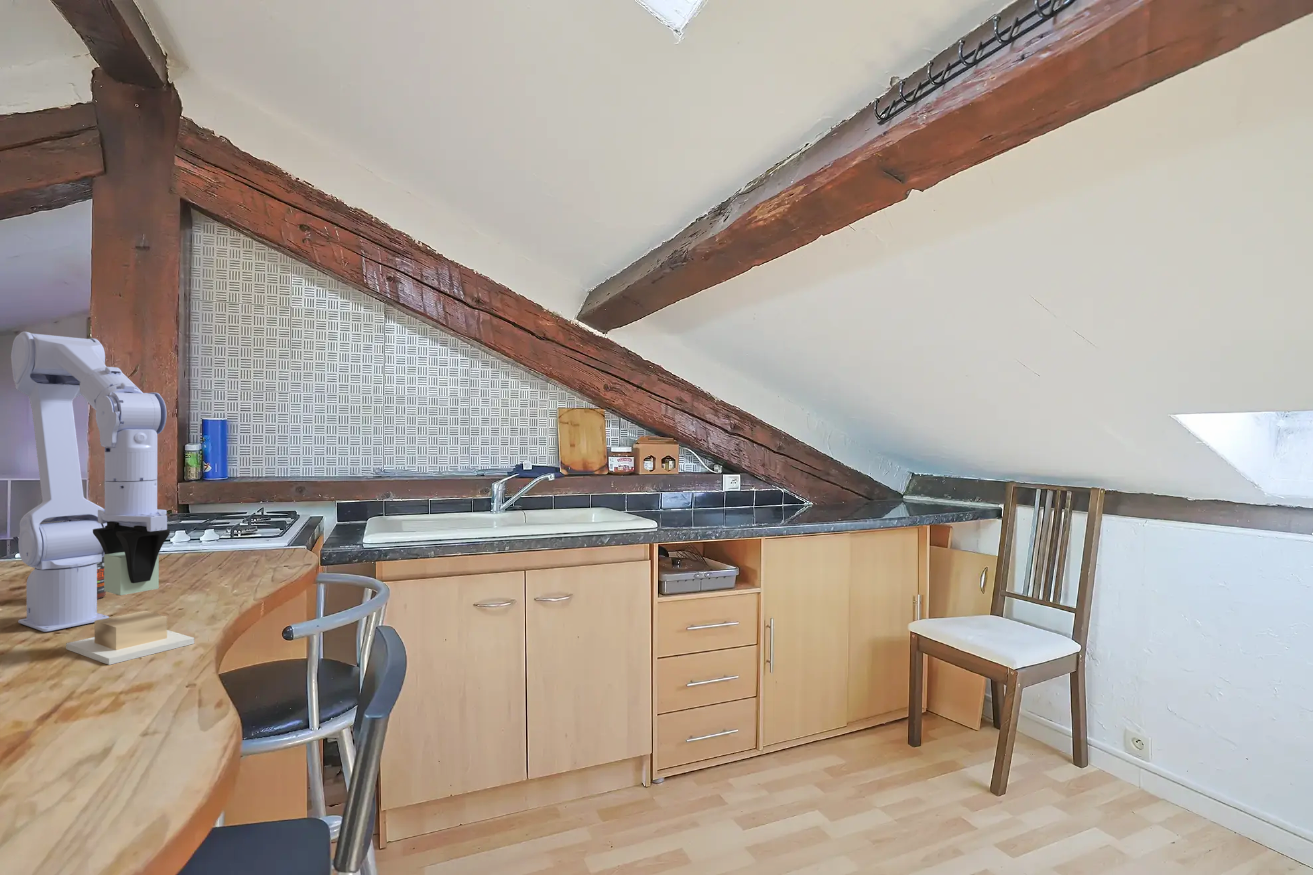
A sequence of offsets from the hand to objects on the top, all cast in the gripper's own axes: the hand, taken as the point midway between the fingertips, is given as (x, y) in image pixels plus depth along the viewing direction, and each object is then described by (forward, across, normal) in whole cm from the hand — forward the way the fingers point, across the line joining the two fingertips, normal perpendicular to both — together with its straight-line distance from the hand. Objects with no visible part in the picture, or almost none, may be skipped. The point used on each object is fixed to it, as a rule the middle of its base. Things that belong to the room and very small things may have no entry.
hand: (131, 579), depth 93 cm
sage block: (+1, 0, 0) cm, 1 cm away
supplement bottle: (+9, +36, -8) cm, 38 cm away
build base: (+9, 0, 0) cm, 9 cm away
